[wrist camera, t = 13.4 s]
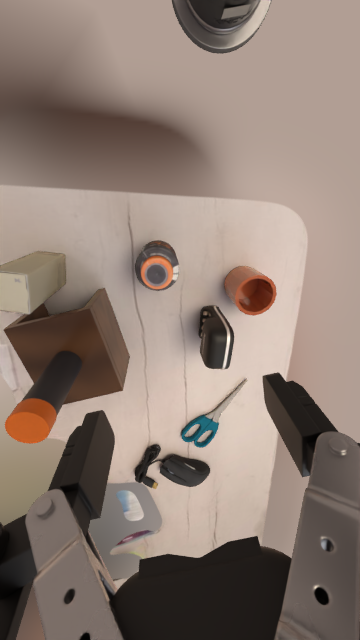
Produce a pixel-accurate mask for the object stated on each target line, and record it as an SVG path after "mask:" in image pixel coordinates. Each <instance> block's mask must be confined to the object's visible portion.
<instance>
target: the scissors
mask: <svg viewBox="0 0 360 640" xmlns="http://www.w3.org/2000/svg"><path fill="white" fill-rule="evenodd" d="M246 382H247V379H245V380H244V381H243V382H242V383H241V385H240V386H239V387H238V388H237V389H236V390H235V391H234V392H233V393H232V394H231V395H230V396H229V397H228V398H227V399H225V400H224V401H223V402H222V403H221V404H220V405H219V406H218V407H217V408H216V409H215V410H214V411H213V412H211V413H210V414H208V415H206V416H205V415H202V416H200V417H198V418H196V419H195V420H193V421H192V422H190V423H189V424H188V425H187V426H186V427H185V428H184V430H183V431H182V434H181V435H182V439H183V440H184V441H185V442H192V441H194V444H195V445H196V446H197V447H205V446H206V445H208V444H209V443H210V441H211V440H212V439H213V438H214V436H215V434H216V432H217V429H218V425H219V423H218V420H219V417H220V415H221V413H222V412H223V411H224V410H225V408H226V407H227V406H228V404H229V403H230V402H231V401H232V399H233V398H234V397H235V395H236V394H237V393H238V392H239V390H240V389H241V388H242V387H243V385H244V384H245V383H246ZM211 418H213V419H211ZM195 424H200V425H201V426H200V427H199V429H198V430H197V432H196V433H195V434H194V435H193V436H191V437H185V436H184V435H185V434H186V432H187V431H188V430H189V429H190V428H191V427H192V426H194V425H195ZM208 430H212V431H213V432H212V433H211V435H210V436H209V437H208V438H207V439H206V440H205V441H204V442H202V443H199V442H197V440H198V439H199V438H200V436H201V435H202V434H203V433H205V432H206V431H208Z"/></svg>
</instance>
